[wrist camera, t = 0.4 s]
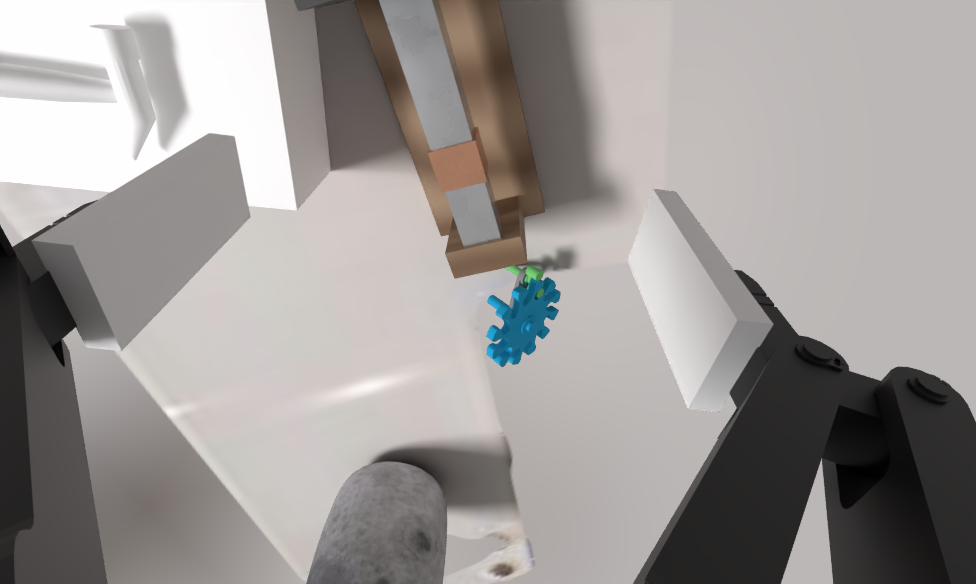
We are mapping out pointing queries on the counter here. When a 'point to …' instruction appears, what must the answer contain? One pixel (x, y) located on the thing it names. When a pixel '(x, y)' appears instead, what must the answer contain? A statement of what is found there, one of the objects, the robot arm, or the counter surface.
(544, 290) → the gear
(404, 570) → the vase
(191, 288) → the counter surface
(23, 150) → the white pegged block
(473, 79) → the wooden stand
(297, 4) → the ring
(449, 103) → the light grey bar
